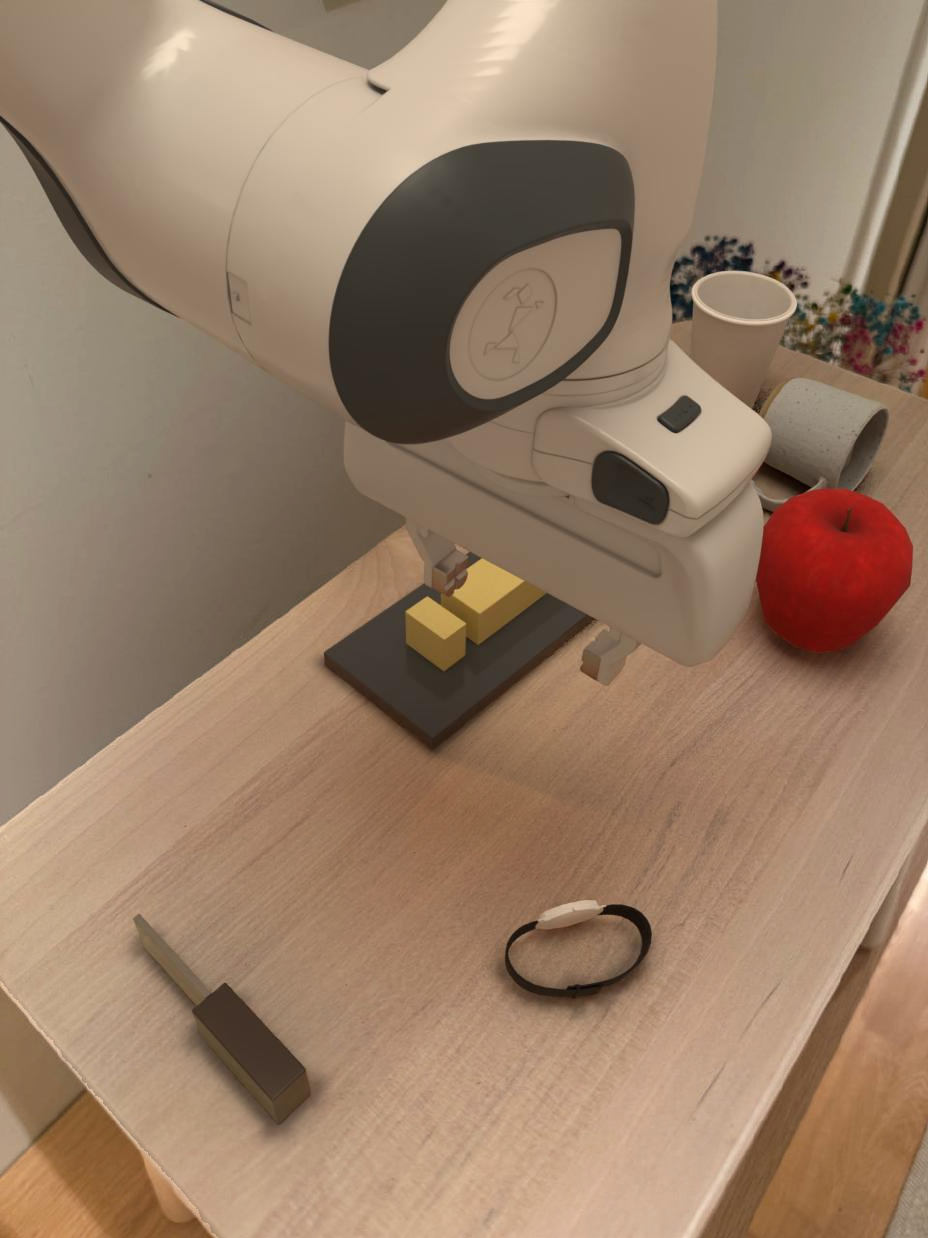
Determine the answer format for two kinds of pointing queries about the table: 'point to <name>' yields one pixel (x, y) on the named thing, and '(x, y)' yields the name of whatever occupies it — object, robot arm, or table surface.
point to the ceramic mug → (821, 435)
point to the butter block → (489, 599)
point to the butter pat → (435, 633)
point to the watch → (574, 915)
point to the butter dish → (466, 687)
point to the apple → (831, 568)
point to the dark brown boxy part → (236, 1034)
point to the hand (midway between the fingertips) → (520, 627)
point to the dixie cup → (738, 328)
